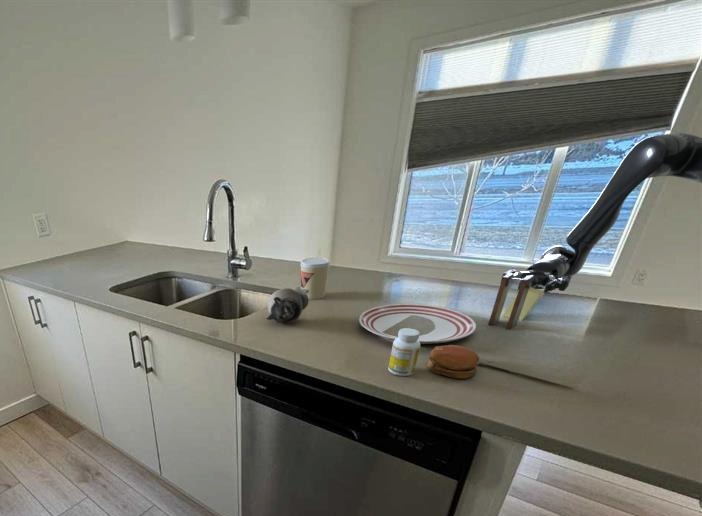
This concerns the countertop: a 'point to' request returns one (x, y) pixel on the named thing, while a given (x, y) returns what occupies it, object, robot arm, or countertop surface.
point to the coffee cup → (314, 277)
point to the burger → (453, 361)
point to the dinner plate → (446, 320)
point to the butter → (526, 303)
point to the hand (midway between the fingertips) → (526, 285)
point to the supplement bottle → (404, 352)
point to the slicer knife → (516, 282)
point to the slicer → (517, 305)
